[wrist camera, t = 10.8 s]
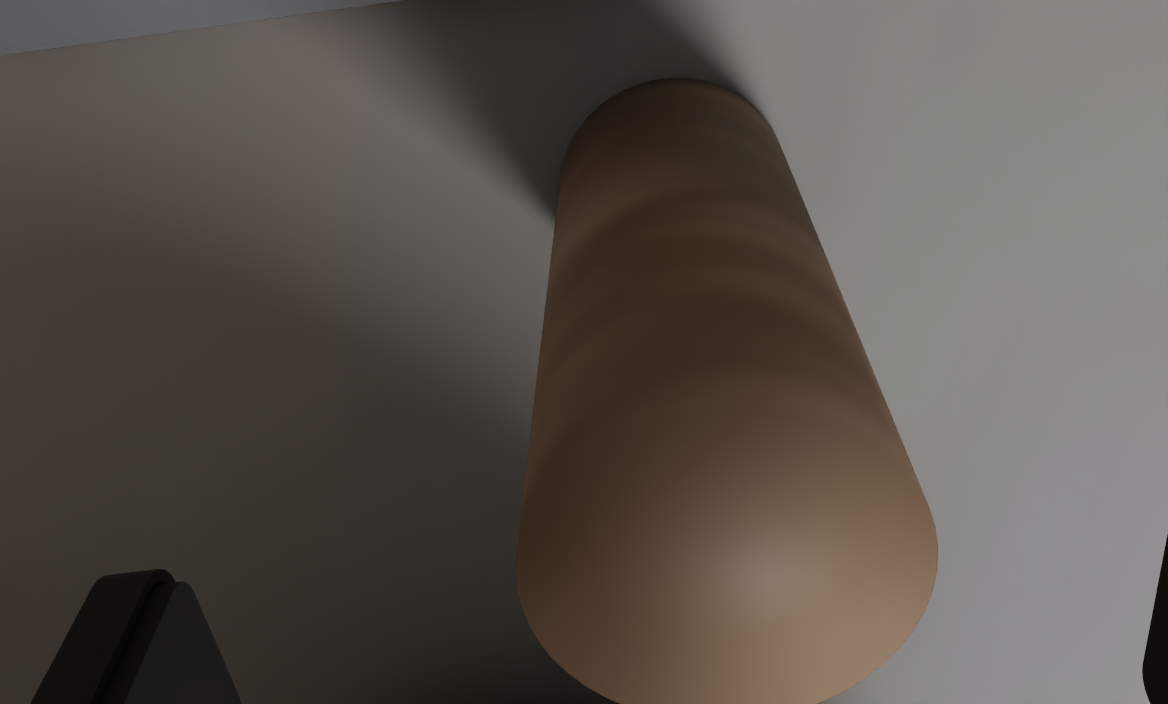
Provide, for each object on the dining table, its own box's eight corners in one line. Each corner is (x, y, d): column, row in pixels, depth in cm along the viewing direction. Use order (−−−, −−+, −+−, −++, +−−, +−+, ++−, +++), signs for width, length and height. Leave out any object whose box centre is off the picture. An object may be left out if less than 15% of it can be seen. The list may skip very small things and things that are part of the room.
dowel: (774, 57, 18) (929, 367, 9) (797, 272, 20) (944, 697, 11) (537, 103, 18) (470, 437, 9) (584, 308, 20) (562, 741, 11)
